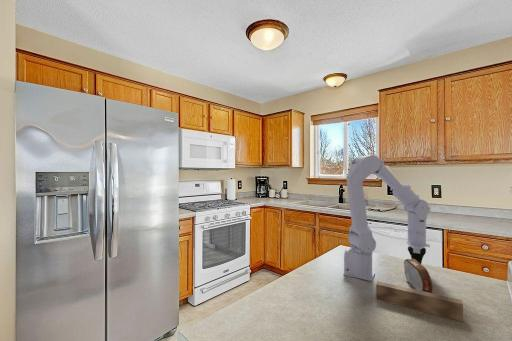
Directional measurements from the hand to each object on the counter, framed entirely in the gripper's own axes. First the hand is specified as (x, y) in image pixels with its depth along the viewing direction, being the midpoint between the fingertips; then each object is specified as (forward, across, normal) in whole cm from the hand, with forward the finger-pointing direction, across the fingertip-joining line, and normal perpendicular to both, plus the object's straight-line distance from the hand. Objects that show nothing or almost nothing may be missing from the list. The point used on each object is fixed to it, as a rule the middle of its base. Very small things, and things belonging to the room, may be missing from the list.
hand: (416, 267), depth 92 cm
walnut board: (+2, -28, 0) cm, 28 cm away
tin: (+3, -14, 0) cm, 14 cm away
